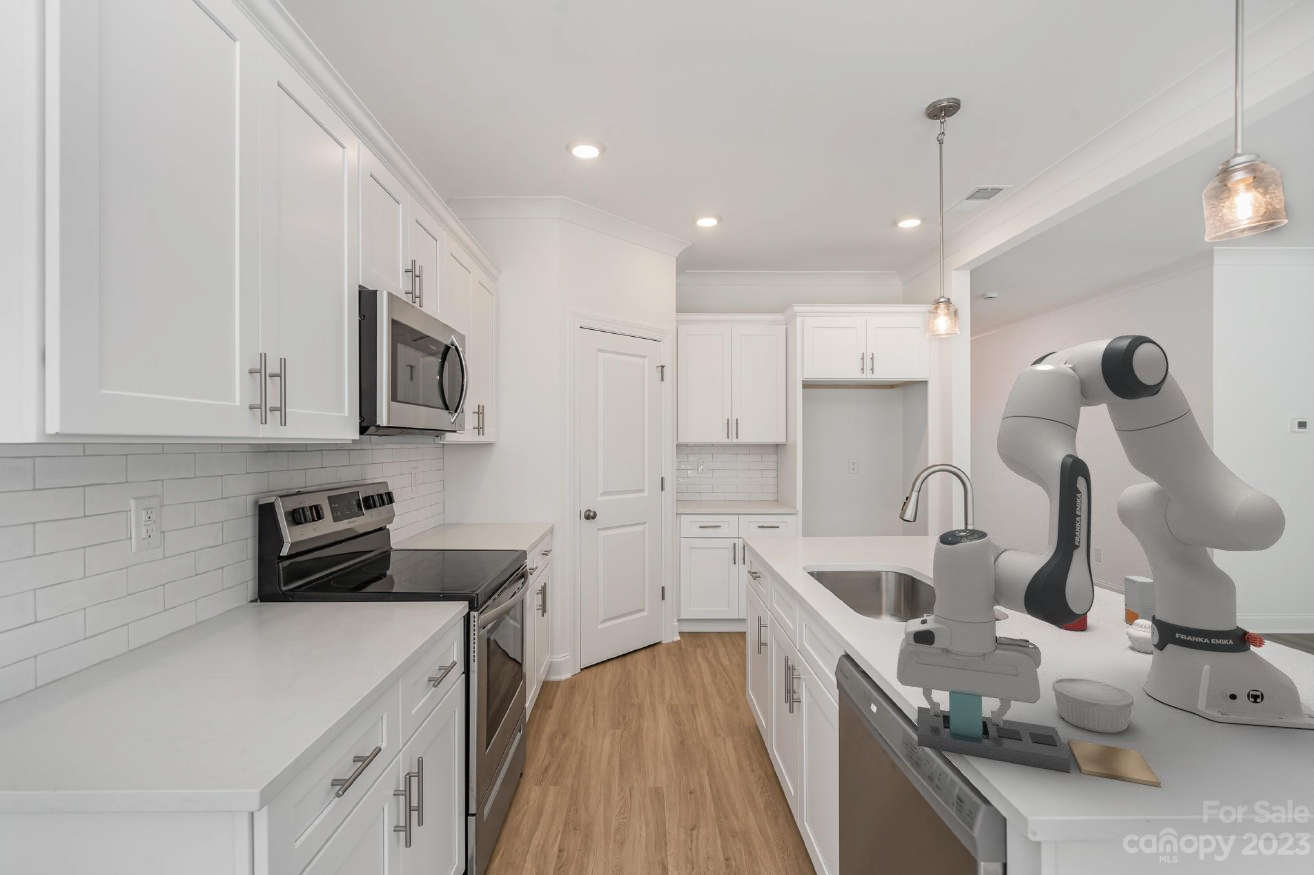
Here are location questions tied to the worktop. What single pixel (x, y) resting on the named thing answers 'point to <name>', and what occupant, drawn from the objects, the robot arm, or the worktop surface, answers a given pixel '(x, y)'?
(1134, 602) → the skincare box
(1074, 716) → the ramekin
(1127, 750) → the pad
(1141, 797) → the worktop surface
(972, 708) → the upright teal block
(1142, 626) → the muffin
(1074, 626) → the beer can
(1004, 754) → the grey slotted board
